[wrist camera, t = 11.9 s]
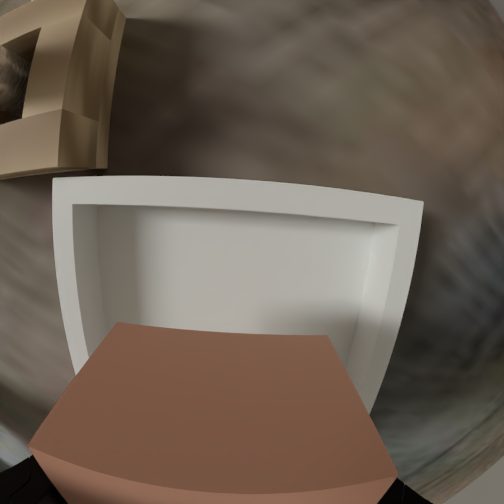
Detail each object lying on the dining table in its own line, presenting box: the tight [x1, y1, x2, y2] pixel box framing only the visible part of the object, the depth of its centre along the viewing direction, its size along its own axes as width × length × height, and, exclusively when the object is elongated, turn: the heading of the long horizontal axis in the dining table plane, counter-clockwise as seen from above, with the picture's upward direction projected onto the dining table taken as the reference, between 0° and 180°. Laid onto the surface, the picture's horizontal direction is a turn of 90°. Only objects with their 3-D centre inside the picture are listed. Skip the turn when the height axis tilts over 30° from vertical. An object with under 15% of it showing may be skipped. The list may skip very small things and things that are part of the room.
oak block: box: [0, 0, 126, 180], centre depth 9 cm, size 8×8×4 cm
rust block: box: [27, 322, 399, 504], centre depth 6 cm, size 6×6×5 cm
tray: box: [52, 176, 424, 415], centre depth 13 cm, size 14×14×3 cm
